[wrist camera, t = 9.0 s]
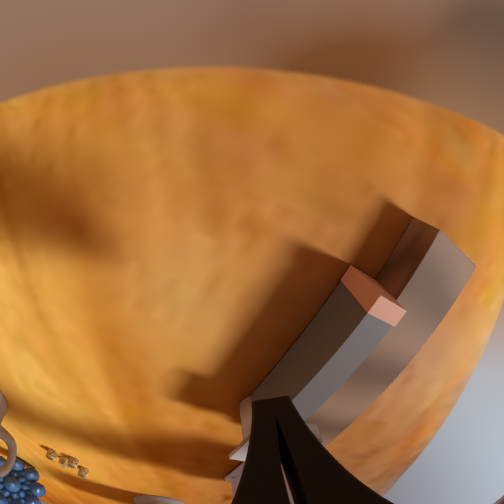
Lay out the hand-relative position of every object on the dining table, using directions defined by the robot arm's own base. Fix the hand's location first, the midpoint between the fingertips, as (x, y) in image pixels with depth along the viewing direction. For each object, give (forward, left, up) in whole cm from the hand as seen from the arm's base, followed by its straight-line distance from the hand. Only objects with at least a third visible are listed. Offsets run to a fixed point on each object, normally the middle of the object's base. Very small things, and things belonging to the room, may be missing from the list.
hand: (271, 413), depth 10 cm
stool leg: (-3, -6, -9) cm, 11 cm away
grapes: (-47, +18, -10) cm, 51 cm away
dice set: (-34, +9, -10) cm, 37 cm away
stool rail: (-1, -9, -9) cm, 13 cm away
